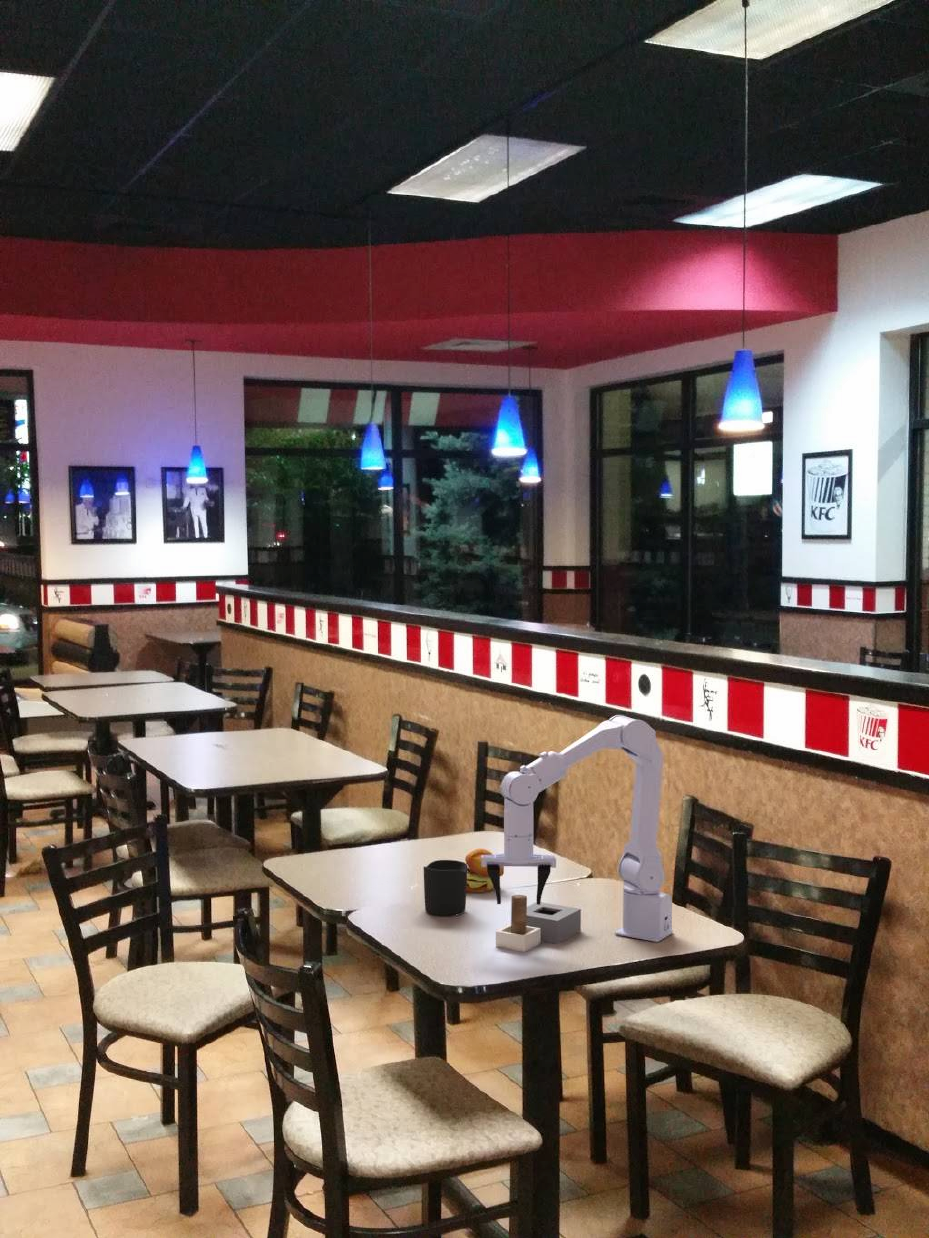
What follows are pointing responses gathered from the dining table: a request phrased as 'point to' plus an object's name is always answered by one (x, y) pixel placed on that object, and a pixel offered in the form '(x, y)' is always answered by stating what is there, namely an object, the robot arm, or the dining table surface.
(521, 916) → the brown wooden cylinder
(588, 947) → the dining table surface
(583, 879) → the dining table surface
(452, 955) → the dining table surface
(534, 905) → the box
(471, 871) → the cheeseburger
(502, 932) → the box
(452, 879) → the pen holder
